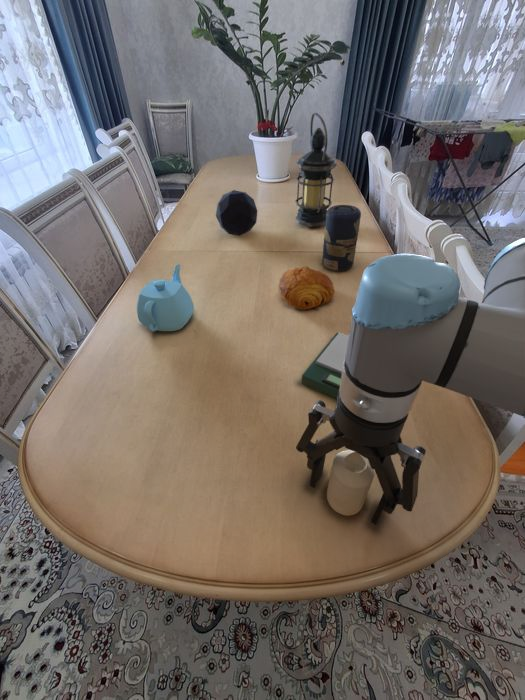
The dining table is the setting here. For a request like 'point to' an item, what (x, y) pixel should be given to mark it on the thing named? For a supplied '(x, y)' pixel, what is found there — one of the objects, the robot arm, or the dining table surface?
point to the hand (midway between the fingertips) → (345, 497)
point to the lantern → (315, 179)
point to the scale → (328, 367)
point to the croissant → (305, 287)
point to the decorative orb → (236, 212)
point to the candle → (349, 482)
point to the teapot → (165, 304)
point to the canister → (340, 236)
